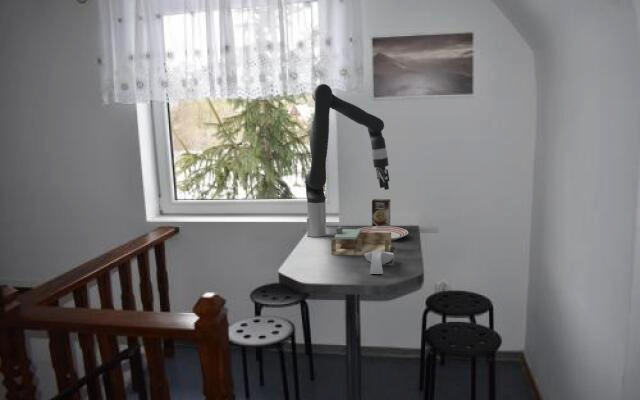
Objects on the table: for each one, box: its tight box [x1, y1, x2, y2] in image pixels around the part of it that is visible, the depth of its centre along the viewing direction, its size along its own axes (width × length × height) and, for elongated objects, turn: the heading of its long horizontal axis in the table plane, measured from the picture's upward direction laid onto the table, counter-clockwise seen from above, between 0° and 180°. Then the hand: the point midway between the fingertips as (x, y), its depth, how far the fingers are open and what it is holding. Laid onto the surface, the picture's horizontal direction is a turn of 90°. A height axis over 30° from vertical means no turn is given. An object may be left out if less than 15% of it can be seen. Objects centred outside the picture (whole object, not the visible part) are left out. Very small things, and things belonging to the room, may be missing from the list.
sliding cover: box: [334, 225, 361, 240], centre depth 216 cm, size 9×16×4 cm, turn 168°
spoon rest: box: [363, 251, 395, 275], centre depth 191 cm, size 24×12×7 cm, turn 171°
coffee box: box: [371, 198, 391, 227], centre depth 262 cm, size 9×6×16 cm
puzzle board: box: [330, 232, 392, 256], centre depth 215 cm, size 24×16×7 cm
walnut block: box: [342, 239, 355, 249], centre depth 216 cm, size 5×5×6 cm
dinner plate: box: [358, 225, 409, 242], centre depth 243 cm, size 28×27×3 cm
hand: (384, 188), depth 256 cm, fingers open, 8 cm apart
